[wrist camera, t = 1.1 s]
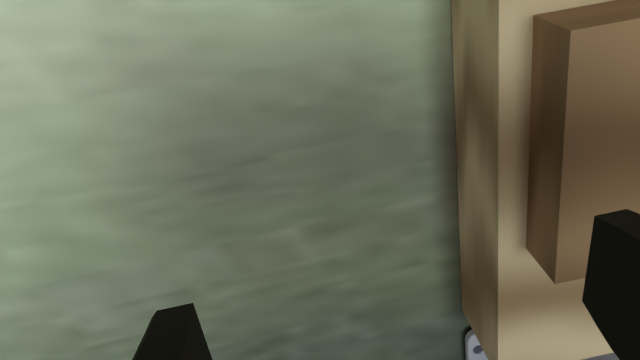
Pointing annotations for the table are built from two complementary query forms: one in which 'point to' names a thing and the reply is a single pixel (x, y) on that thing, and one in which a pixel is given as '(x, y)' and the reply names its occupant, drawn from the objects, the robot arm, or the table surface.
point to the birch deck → (506, 191)
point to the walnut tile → (582, 129)
